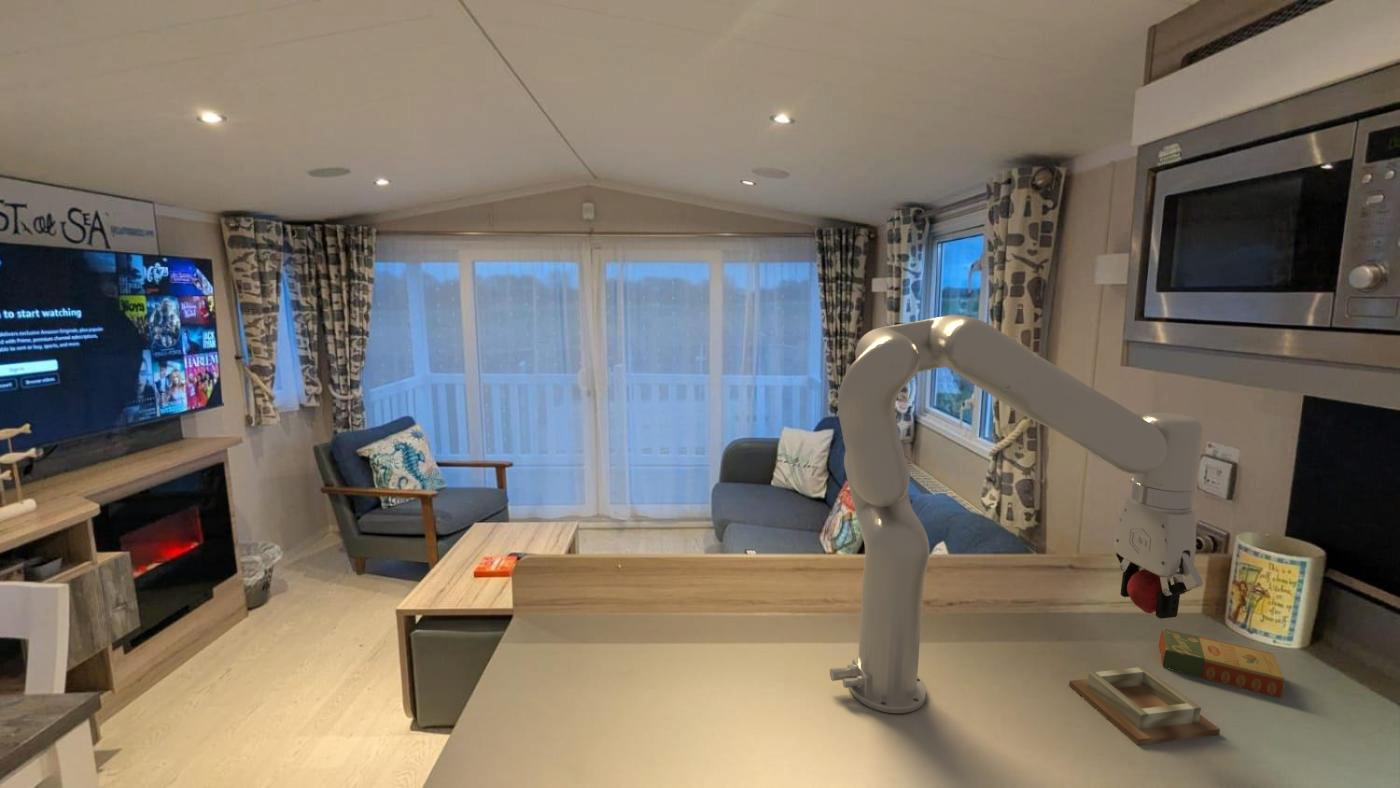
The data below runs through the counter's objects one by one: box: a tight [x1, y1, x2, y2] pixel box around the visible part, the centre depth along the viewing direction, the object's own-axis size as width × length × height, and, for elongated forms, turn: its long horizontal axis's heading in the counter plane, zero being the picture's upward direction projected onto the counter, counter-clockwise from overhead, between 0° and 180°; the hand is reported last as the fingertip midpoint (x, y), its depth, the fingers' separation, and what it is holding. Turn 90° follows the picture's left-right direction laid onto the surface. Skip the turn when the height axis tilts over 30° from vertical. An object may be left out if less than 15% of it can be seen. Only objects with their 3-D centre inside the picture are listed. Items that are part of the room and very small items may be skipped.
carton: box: [1158, 628, 1285, 699], centre depth 111 cm, size 8×16×4 cm, turn 58°
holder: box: [1068, 666, 1221, 746], centre depth 101 cm, size 14×14×4 cm
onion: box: [1127, 569, 1163, 614], centre depth 98 cm, size 6×6×8 cm
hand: (1147, 604), depth 98 cm, fingers closed on onion, 5 cm apart
